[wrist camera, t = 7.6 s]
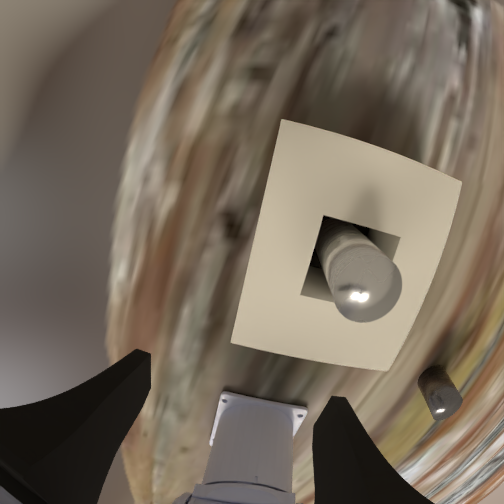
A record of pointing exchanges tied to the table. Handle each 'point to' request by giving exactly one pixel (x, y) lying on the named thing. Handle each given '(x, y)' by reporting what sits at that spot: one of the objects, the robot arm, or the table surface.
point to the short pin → (439, 392)
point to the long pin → (357, 272)
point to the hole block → (305, 235)
